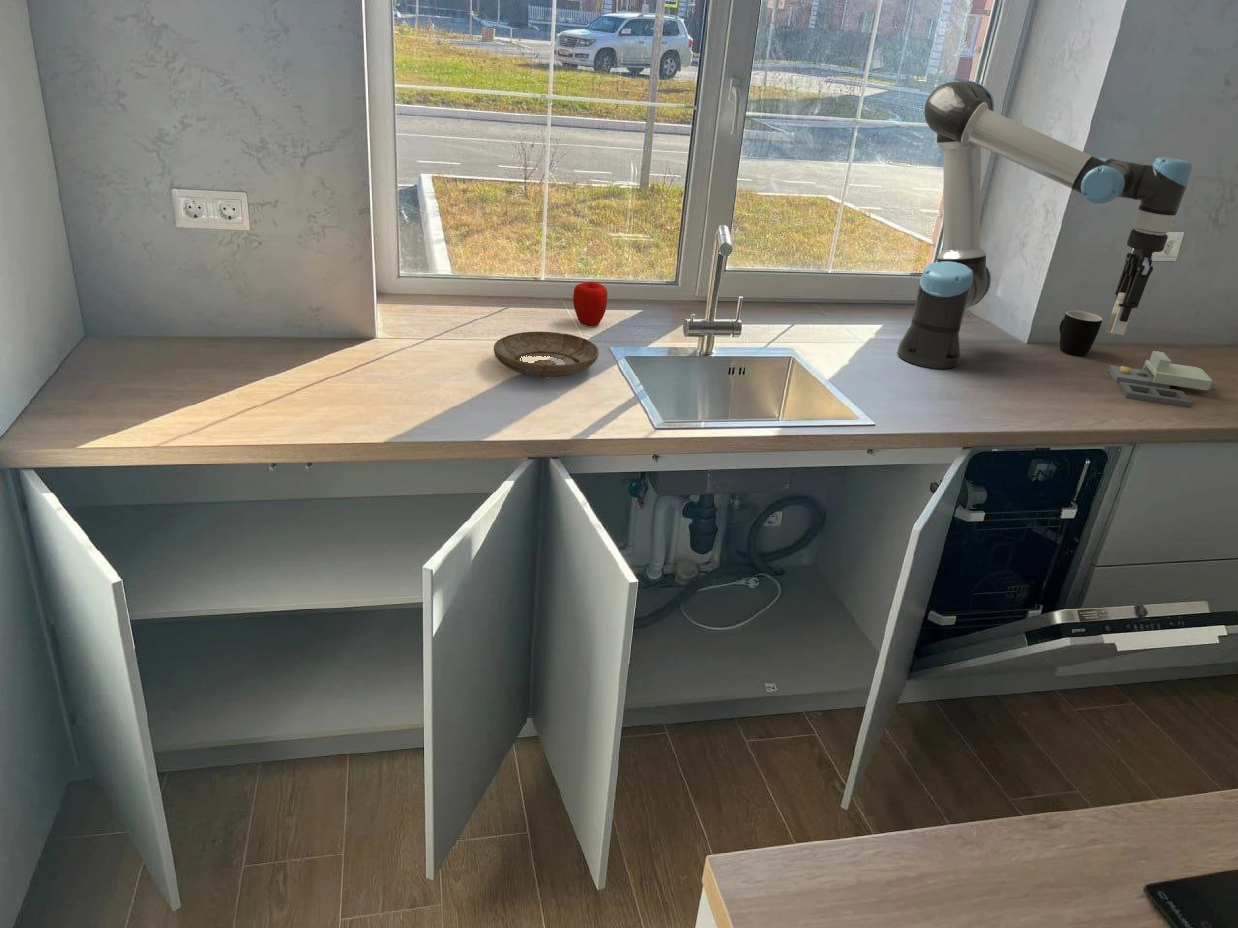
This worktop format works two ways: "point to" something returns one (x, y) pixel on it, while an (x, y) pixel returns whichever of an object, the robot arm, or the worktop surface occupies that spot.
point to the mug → (1078, 332)
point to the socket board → (1154, 394)
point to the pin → (1115, 312)
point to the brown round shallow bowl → (546, 353)
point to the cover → (1176, 373)
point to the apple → (590, 302)
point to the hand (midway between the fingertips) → (1115, 330)
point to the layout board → (1134, 376)
